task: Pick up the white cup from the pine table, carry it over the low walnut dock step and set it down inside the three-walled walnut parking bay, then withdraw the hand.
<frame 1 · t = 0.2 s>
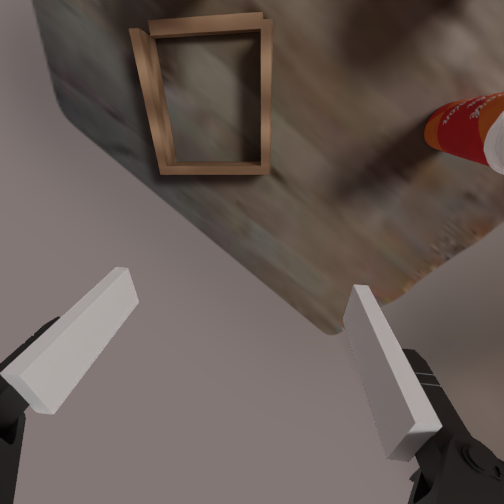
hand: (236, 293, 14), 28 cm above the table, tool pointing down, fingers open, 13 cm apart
bay: (214, 115, 33), on the table
paper cup: (445, 126, 31), on the table
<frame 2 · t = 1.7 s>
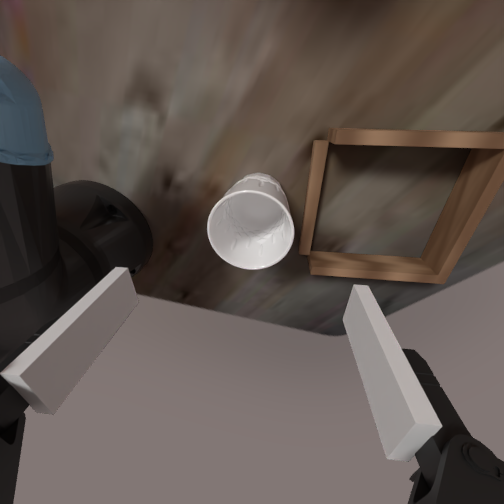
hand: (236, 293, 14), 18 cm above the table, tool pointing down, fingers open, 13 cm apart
white cup: (258, 199, 29), on the table
bay: (388, 206, 28), on the table
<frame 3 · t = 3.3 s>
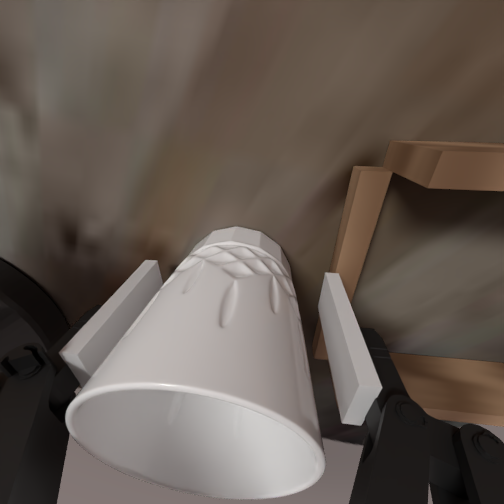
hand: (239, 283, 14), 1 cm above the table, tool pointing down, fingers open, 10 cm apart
white cup: (240, 268, 16), on the table
bay: (491, 288, 14), on the table
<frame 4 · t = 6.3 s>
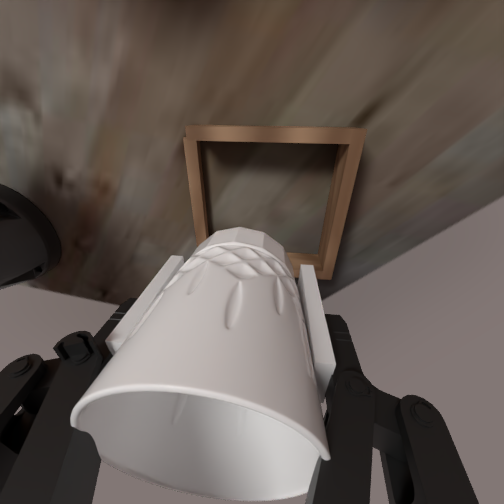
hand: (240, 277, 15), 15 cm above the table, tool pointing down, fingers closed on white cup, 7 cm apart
white cup: (242, 269, 16), point 14 cm above the table, touching gripper
bay: (274, 202, 28), on the table
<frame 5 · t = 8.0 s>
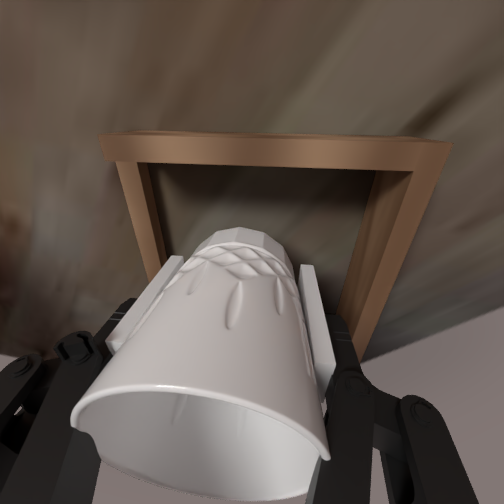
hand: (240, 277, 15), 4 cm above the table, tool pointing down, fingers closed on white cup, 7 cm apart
white cup: (243, 269, 16), point 3 cm above the table, touching gripper
bay: (270, 250, 18), on the table
when the fingers open (2 cm above the table, at t = 9.1 s): white cup drops 1 cm, resting in bay.
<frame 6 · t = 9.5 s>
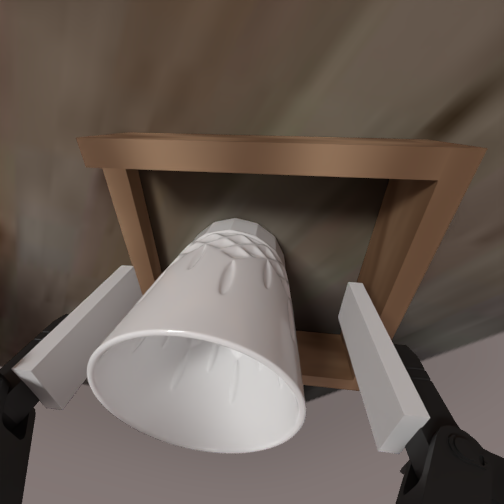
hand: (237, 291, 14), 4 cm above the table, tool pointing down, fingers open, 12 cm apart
white cup: (238, 258, 17), resting in bay
bay: (272, 262, 17), on the table
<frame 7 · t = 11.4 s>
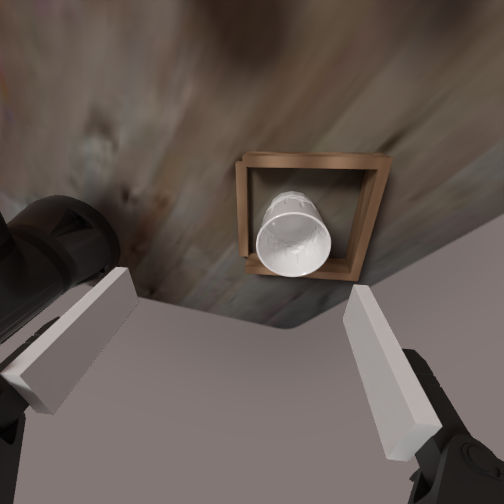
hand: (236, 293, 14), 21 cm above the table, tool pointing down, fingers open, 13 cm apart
white cup: (290, 213, 33), resting in bay
bay: (308, 214, 32), on the table
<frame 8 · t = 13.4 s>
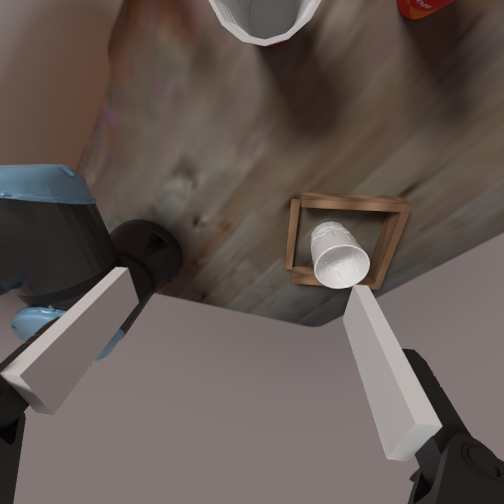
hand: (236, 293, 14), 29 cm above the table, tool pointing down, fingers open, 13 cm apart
white cup: (328, 237, 42), resting in bay
bay: (342, 238, 42), on the table
plastic cup: (270, 14, 28), on the table
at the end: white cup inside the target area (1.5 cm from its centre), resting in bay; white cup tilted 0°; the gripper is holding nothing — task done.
